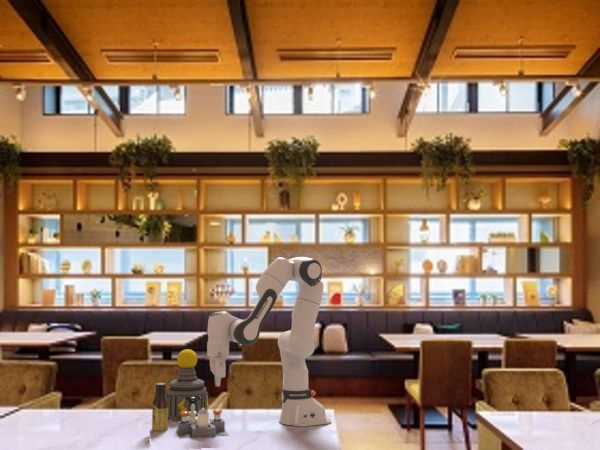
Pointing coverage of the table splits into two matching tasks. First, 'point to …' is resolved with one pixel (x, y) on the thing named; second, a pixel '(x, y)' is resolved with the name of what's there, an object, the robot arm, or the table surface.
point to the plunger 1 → (184, 416)
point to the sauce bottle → (160, 409)
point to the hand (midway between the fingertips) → (217, 385)
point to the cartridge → (203, 419)
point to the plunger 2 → (217, 414)
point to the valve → (192, 408)
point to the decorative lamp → (186, 387)
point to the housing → (201, 429)
